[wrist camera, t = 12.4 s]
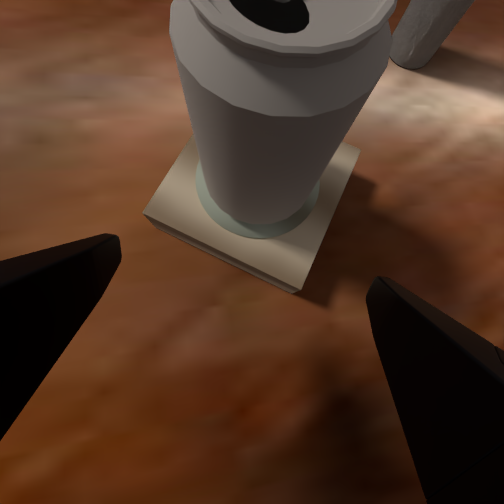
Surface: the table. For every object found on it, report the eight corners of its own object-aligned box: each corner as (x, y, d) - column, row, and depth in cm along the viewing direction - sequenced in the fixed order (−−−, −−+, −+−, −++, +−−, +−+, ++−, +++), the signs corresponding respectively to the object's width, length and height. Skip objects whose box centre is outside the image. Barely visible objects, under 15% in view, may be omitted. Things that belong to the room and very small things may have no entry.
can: (183, 179, 18) (90, -59, 7) (255, 117, 20) (282, -163, 8) (261, 251, 17) (310, 119, 6) (330, 179, 19) (479, -37, 7)
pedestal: (291, 293, 20) (301, 289, 17) (155, 227, 21) (141, 211, 18) (345, 170, 23) (362, 148, 20) (224, 116, 23) (222, 85, 20)
